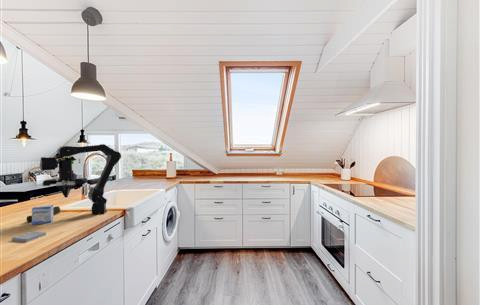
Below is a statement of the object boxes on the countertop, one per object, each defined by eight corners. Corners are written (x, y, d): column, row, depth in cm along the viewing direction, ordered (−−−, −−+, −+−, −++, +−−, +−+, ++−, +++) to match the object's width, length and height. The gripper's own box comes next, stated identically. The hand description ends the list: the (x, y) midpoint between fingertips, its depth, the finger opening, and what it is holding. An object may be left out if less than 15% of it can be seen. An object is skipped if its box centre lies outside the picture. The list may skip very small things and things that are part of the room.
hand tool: (32, 223, 117) (32, 214, 117) (26, 223, 117) (25, 214, 117) (64, 213, 136) (64, 205, 136) (58, 213, 136) (58, 205, 136)
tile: (31, 231, 101) (11, 237, 94) (45, 232, 99) (26, 239, 92) (31, 234, 101) (12, 241, 94) (45, 236, 100) (26, 243, 92)
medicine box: (31, 225, 113) (31, 208, 113) (34, 222, 117) (34, 206, 117) (51, 222, 117) (50, 206, 117) (53, 220, 121) (53, 204, 121)
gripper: (90, 167, 131) (91, 193, 131) (53, 168, 126) (54, 195, 126) (82, 168, 120) (83, 197, 121) (41, 170, 115) (42, 199, 116)
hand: (66, 197), depth 121 cm, fingers closed
